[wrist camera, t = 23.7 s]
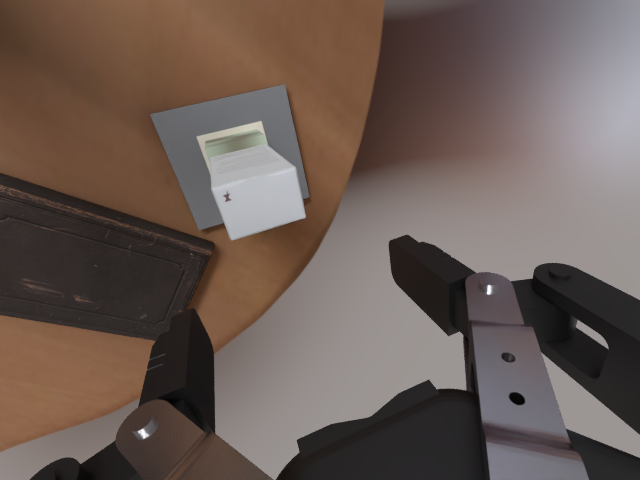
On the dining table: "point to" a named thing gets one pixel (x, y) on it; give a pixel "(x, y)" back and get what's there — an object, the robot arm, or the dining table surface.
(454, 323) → the robot arm
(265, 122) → the base plate
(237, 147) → the green block
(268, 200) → the skincare box
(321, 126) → the dining table surface
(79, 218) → the hardcover book
